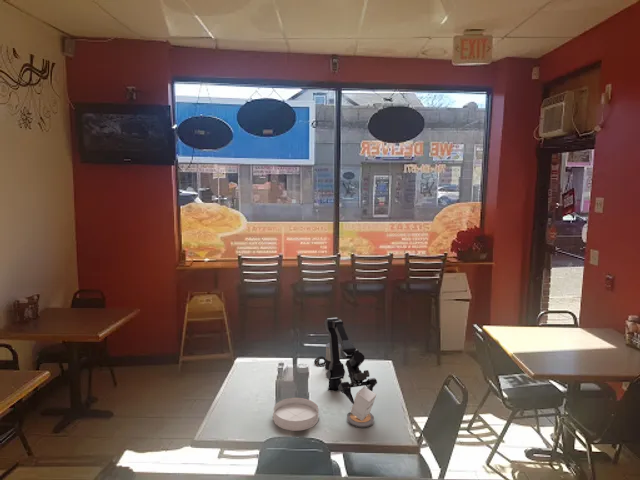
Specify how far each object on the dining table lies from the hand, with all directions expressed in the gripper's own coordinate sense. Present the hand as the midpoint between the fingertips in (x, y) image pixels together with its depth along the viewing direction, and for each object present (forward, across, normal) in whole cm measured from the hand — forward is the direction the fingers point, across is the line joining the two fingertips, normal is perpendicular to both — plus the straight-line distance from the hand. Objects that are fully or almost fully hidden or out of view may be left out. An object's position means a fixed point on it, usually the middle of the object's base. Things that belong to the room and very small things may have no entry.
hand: (362, 402), depth 220 cm
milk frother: (-37, +6, +52) cm, 64 cm away
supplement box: (+3, 0, +6) cm, 7 cm away
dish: (-2, -29, +17) cm, 34 cm away
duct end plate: (+6, 0, +8) cm, 10 cm away
